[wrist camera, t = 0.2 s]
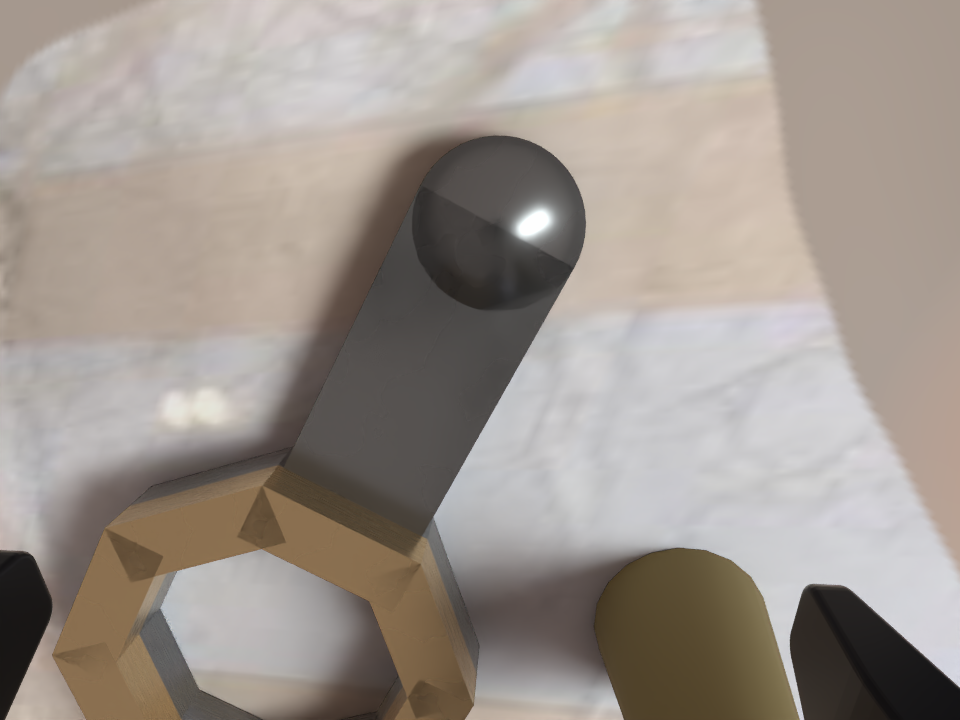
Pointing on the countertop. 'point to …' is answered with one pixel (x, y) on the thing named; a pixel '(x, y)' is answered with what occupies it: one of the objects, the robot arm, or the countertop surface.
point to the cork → (690, 641)
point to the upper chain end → (288, 535)
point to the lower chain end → (421, 362)
